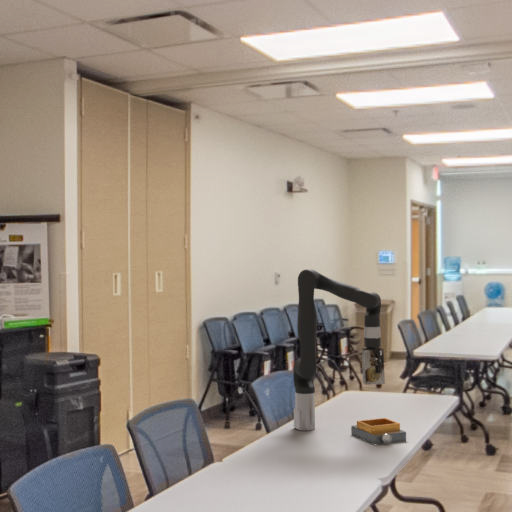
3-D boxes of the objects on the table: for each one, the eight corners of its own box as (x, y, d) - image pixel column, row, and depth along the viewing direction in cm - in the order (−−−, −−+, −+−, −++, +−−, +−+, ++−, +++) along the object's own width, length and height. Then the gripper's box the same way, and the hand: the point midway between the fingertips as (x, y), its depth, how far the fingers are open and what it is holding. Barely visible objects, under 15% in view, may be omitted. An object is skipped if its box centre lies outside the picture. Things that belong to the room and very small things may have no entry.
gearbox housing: (378, 446, 318) (377, 430, 317) (351, 434, 338) (351, 419, 338) (409, 442, 324) (409, 426, 324) (381, 431, 344) (381, 416, 344)
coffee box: (381, 381, 343) (381, 347, 343) (384, 384, 336) (384, 348, 336) (362, 382, 342) (361, 347, 342) (365, 385, 336) (364, 349, 336)
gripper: (357, 335, 344) (357, 370, 344) (374, 338, 331) (374, 375, 331) (370, 334, 347) (371, 369, 347) (388, 337, 334) (388, 373, 334)
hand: (373, 371), depth 339 cm, fingers closed on coffee box, 7 cm apart
